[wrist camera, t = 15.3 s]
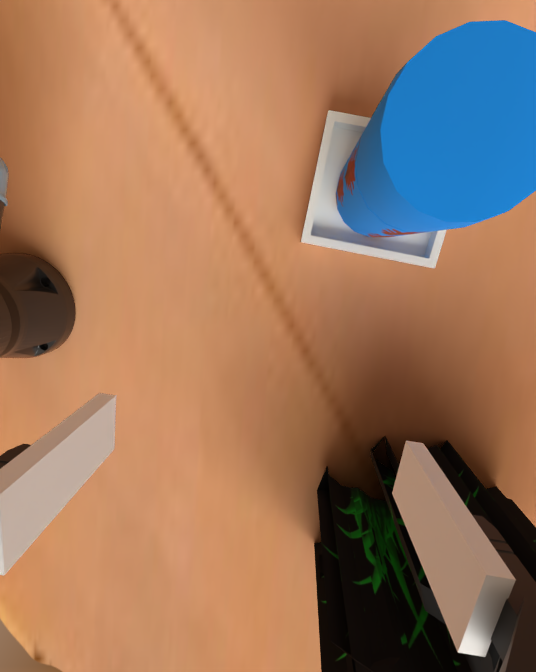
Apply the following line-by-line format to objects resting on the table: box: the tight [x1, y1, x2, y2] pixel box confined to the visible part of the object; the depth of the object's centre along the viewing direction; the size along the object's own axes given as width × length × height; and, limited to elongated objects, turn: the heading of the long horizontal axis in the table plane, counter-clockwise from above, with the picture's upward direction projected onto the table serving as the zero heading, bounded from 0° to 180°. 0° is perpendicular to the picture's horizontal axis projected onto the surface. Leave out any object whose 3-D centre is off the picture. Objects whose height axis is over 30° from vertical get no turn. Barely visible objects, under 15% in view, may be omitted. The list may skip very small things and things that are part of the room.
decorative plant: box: [314, 436, 536, 672], centre depth 42 cm, size 29×30×30 cm
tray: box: [301, 110, 446, 268], centre depth 44 cm, size 17×15×3 cm
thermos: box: [336, 20, 536, 237], centre depth 32 cm, size 11×11×25 cm
